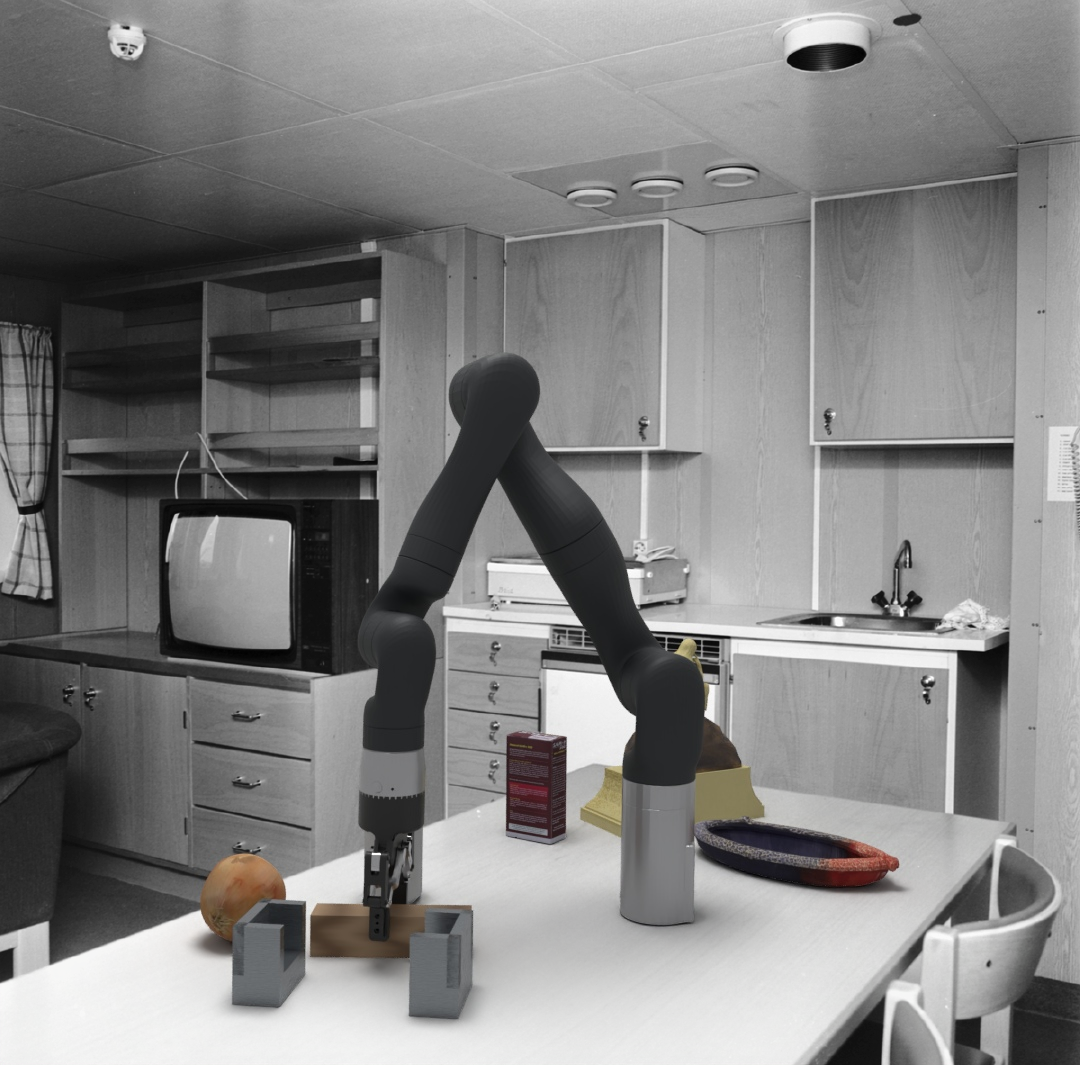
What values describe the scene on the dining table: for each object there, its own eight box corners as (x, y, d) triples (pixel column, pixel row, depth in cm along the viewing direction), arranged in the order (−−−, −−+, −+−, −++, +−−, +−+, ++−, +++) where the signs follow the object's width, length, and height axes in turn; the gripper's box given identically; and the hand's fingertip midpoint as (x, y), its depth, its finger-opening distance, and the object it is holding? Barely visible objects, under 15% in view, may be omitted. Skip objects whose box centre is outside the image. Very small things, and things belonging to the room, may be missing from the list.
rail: (471, 947, 135) (471, 905, 135) (469, 961, 131) (469, 917, 131) (316, 946, 135) (316, 903, 135) (309, 959, 131) (310, 915, 131)
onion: (299, 927, 140) (300, 845, 140) (263, 959, 130) (264, 870, 130) (225, 920, 142) (226, 839, 142) (184, 951, 132) (185, 864, 132)
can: (411, 911, 146) (412, 817, 146) (355, 906, 147) (356, 813, 147) (429, 892, 153) (430, 802, 153) (375, 887, 155) (376, 798, 154)
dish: (722, 838, 181) (723, 806, 181) (915, 880, 162) (916, 845, 162) (669, 861, 169) (669, 827, 169) (870, 909, 150) (871, 871, 150)
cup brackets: (472, 984, 124) (473, 910, 124) (458, 1018, 116) (459, 939, 115) (260, 971, 127) (261, 898, 126) (232, 1004, 118) (232, 926, 118)
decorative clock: (715, 800, 204) (718, 630, 203) (764, 817, 193) (767, 638, 192) (580, 820, 190) (583, 637, 189) (624, 840, 179) (627, 646, 178)
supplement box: (567, 838, 179) (568, 735, 179) (550, 845, 175) (552, 741, 175) (520, 829, 184) (522, 729, 183) (503, 836, 180) (505, 734, 179)
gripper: (410, 803, 125) (406, 952, 125) (437, 773, 139) (433, 908, 139) (342, 799, 126) (338, 947, 126) (376, 770, 140) (372, 903, 140)
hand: (388, 926), depth 133 cm, fingers open, 8 cm apart
